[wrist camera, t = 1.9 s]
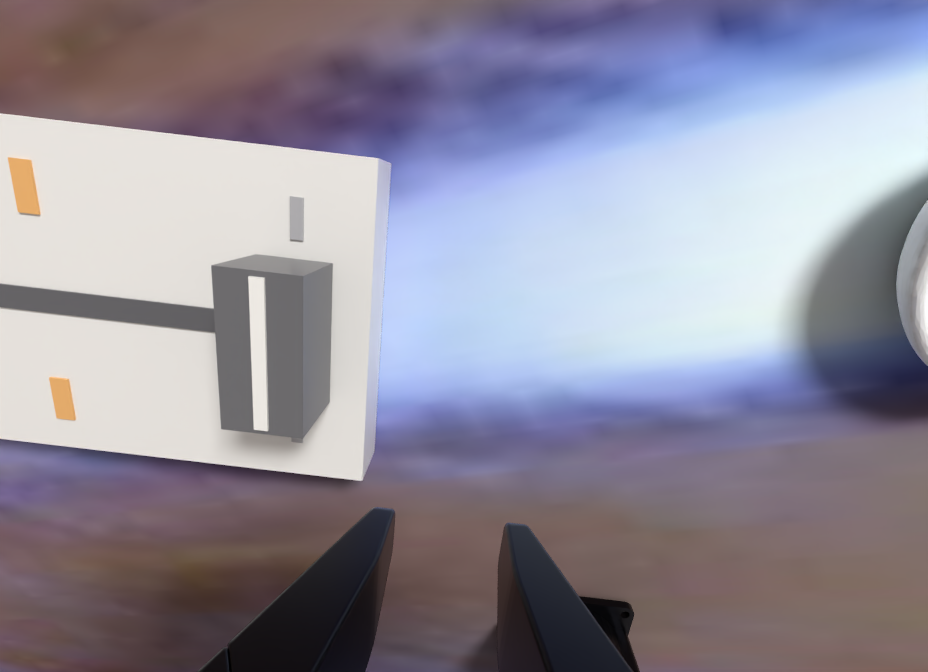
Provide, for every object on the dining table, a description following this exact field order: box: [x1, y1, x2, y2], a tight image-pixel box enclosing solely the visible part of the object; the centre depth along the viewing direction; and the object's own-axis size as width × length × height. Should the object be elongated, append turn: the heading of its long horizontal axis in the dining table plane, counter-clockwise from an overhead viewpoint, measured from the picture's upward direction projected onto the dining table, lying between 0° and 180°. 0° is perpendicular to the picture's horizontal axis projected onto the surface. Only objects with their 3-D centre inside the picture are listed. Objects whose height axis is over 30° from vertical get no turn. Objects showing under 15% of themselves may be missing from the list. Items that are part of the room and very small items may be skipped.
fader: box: [211, 254, 333, 439], centre depth 16 cm, size 3×6×3 cm, turn 174°
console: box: [0, 114, 391, 481], centre depth 19 cm, size 20×14×3 cm
